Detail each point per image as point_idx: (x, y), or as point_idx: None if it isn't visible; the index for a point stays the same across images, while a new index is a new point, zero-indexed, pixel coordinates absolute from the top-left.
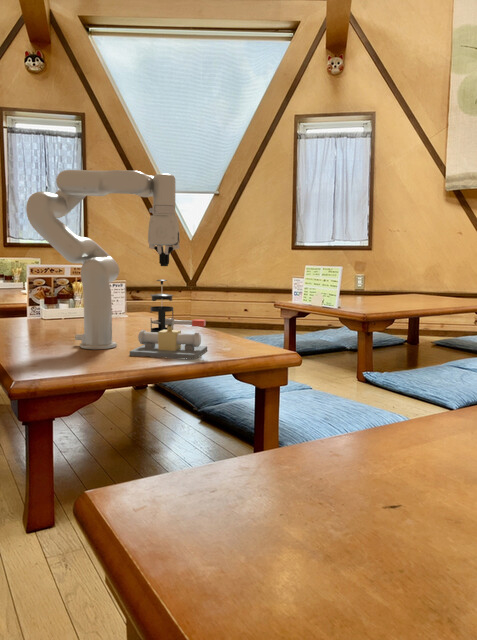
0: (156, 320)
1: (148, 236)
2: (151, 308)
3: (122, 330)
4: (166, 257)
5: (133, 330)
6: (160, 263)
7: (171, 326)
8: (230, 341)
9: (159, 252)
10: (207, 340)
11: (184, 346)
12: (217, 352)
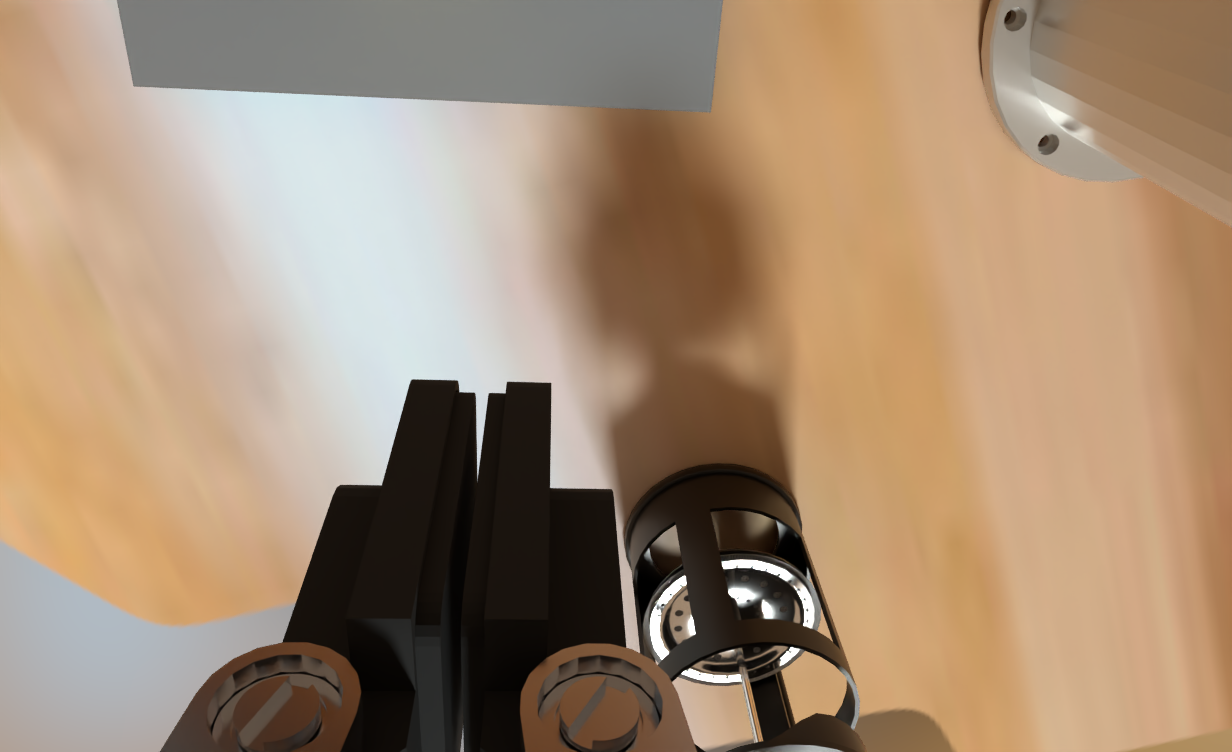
0: (787, 647)
1: None
2: (840, 661)
3: (1050, 689)
4: (338, 601)
5: (974, 706)
6: (550, 412)
7: None
8: (151, 500)
9: (612, 720)
10: None
11: (329, 22)
12: (21, 10)
